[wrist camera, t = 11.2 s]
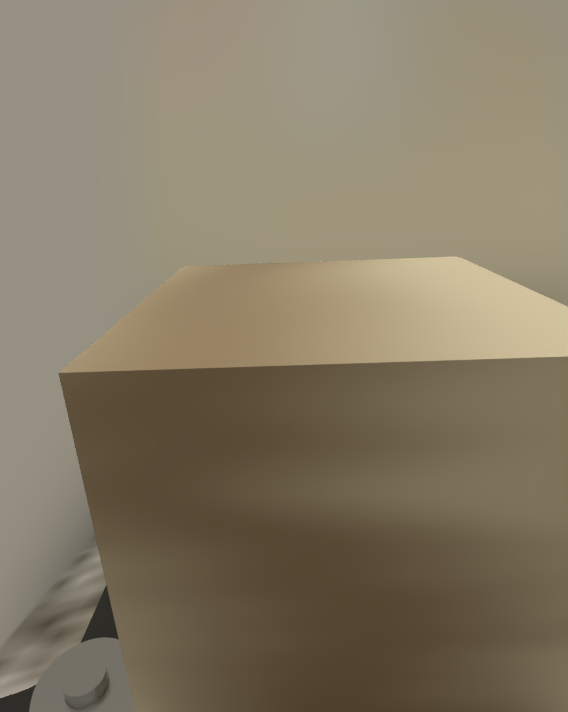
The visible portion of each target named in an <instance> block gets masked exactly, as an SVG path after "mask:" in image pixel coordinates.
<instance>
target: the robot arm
mask: <svg viewBox="0 0 568 712" xmlns="http://www.w3.org/2000/svg"><path fill="white" fill-rule="evenodd" d="M0 712H135V709H134V704H133V700H132V696H131V691H130V687H129V682H128V678H127V673H126V669H125V665H124V660H123V656H122V651H121V647H120V642H119V638H118V634H117V629H116V625H115V620H114V616H113V611H112V607H111V603H110V598H109V594H108V589H107V585H106V587H105V589H104V592H103V594H102V596H101V598H100V601H99V603H98V605H97V608H96V610H95V612H94V614H93V617H92V619H91V621H90V623H89V626H88V628H87V630H86V632H85V635H84V637H83V639H82V641H81V643H80V644H78V645H76V646H74V647H72V648H70V649H69V650H67V651H66V652H64V653H63V654H62V655H60V656H59V657H58V658H57V659H56V660H55V661H54V662H53V663H52V664H51V665H50V666H49V667H48V668H47V669H46V670H45V672H44V673H43V674H42V676H41V678H40V679H39V681H38V682H37V684H36V685H35V686H33V687H31V688H29V689H26V690H23V691H21V692H18V693H15V694H12V695H9V696H6V697H3V698H0Z"/></svg>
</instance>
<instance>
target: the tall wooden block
mask: <svg viewBox="0 0 568 712" xmlns="http://www.w3.org/2000/svg"><path fill="white" fill-rule="evenodd" d="M59 377H60V381H61V386H62V390H63V395H64V399H65V403H66V407H67V412H68V417H69V421H70V425H71V430H72V434H73V439H74V443H75V448H76V452H77V456H78V461H79V465H80V470H81V474H82V479H83V483H84V487H85V492H86V496H87V501H88V505H89V509H90V514H91V518H92V523H93V527H94V532H95V536H96V541H97V545H98V549H99V554H100V558H101V563H102V567H103V572H104V576H105V580H106V585H107V589H108V594H109V598H110V603H111V607H112V611H113V616H114V620H115V625H116V629H117V634H118V638H119V642H120V647H121V651H122V656H123V660H124V665H125V669H126V673H127V678H128V682H129V687H130V691H131V696H132V700H133V704H134V709H135V712H568V307H567V306H565V305H563V304H561V303H558V302H556V301H554V300H552V299H550V298H548V297H545V296H543V295H541V294H539V293H536V292H534V291H532V290H530V289H528V288H526V287H524V286H521V285H519V284H517V283H515V282H513V281H511V280H508V279H506V278H504V277H502V276H500V275H497V274H495V273H493V272H491V271H489V270H486V269H484V268H482V267H480V266H477V265H476V264H473V263H471V262H469V261H467V260H465V259H462V258H460V257H432V258H404V259H378V260H353V261H352V260H350V261H322V262H295V263H269V264H240V265H213V266H185V267H182V268H181V269H180V270H179V271H178V272H176V273H175V274H174V275H173V276H172V277H171V278H169V279H168V280H167V281H166V282H165V283H163V284H162V285H161V286H160V287H159V288H158V289H156V290H155V291H154V292H153V293H152V294H151V295H149V296H148V297H147V298H146V299H145V300H144V301H142V302H141V303H140V304H139V305H138V306H137V307H135V308H134V309H133V310H132V311H131V312H129V313H128V314H127V315H126V316H125V317H124V318H122V319H121V320H120V321H119V322H118V323H117V324H115V325H114V326H113V327H112V328H111V329H109V330H108V331H107V332H106V333H105V334H104V335H103V336H101V337H100V338H99V339H98V340H97V341H95V342H94V343H93V344H92V345H91V346H90V347H88V348H87V349H86V350H85V351H84V352H83V353H81V354H80V355H79V356H78V357H77V358H76V359H74V360H73V361H72V362H71V363H70V364H68V365H67V366H66V367H65V368H64V369H63V370H61V371H60V372H59Z"/></svg>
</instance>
